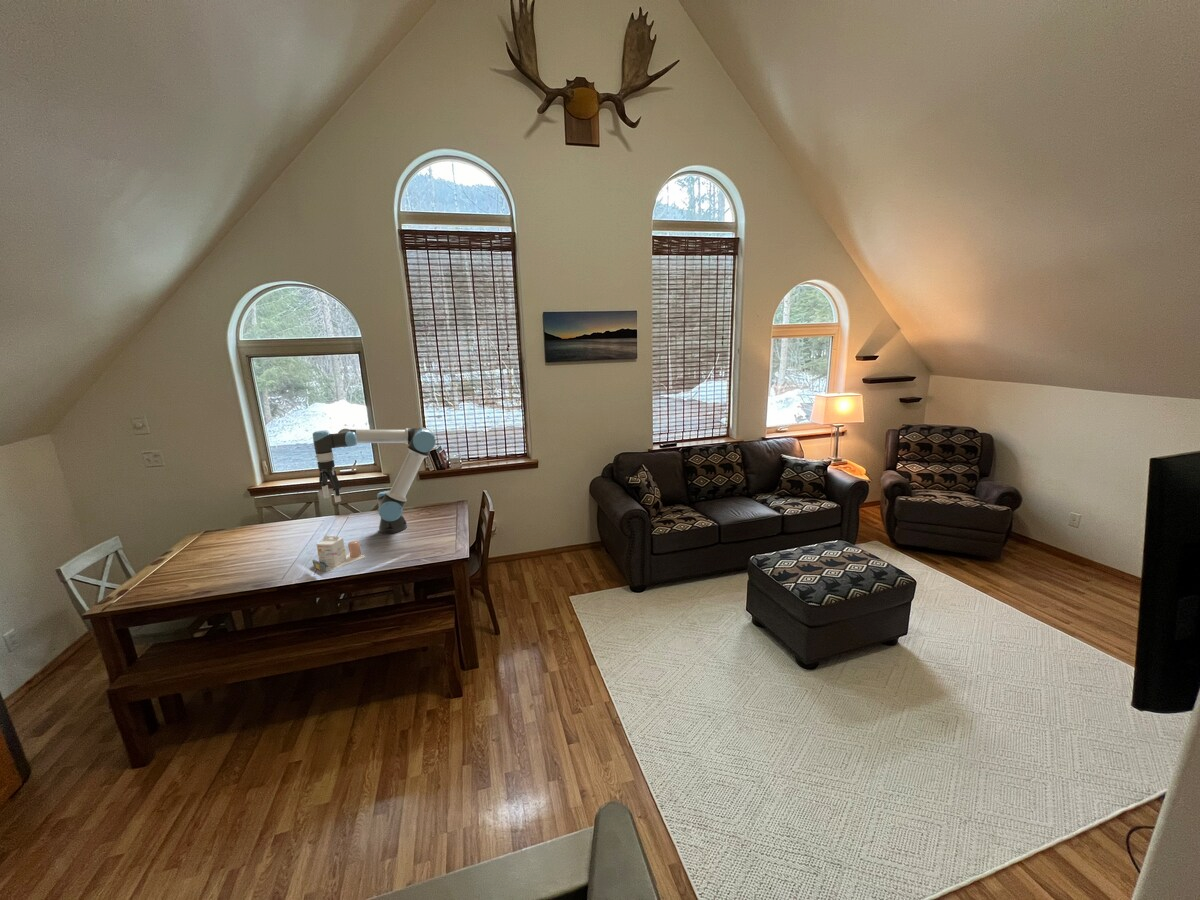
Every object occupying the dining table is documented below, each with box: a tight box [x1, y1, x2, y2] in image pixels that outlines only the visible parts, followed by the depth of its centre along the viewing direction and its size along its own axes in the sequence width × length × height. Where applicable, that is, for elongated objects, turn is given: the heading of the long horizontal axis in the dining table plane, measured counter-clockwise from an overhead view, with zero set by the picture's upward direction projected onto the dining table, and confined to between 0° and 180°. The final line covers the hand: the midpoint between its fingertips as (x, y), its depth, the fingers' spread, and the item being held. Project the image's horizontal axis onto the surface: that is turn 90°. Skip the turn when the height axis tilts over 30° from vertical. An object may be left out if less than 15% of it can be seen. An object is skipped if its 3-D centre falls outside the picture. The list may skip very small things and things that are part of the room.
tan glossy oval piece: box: [347, 540, 362, 558], centre depth 239 cm, size 5×5×7 cm
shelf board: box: [312, 552, 367, 573], centre depth 233 cm, size 20×12×4 cm, turn 142°
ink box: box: [316, 535, 347, 567], centre depth 231 cm, size 9×8×13 cm
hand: (332, 499), depth 250 cm, fingers open, 13 cm apart
